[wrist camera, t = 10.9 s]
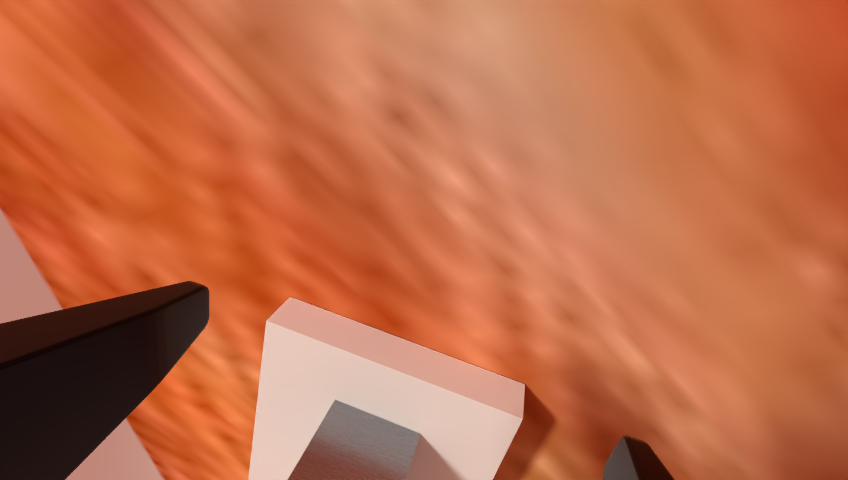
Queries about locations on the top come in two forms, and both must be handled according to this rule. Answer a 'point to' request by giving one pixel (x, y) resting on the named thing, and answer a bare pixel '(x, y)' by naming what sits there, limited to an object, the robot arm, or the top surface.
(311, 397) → the board
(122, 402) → the robot arm
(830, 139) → the top surface
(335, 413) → the block
